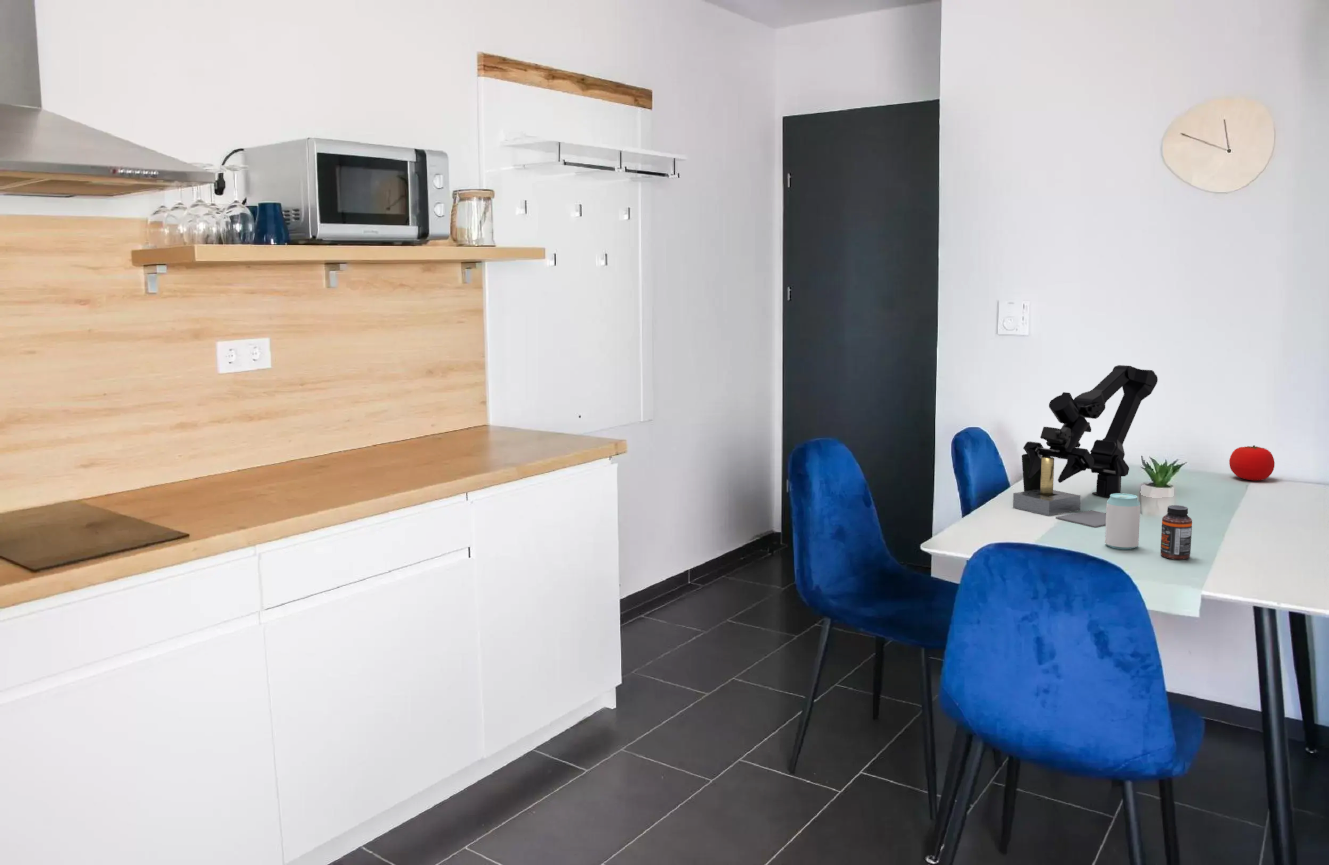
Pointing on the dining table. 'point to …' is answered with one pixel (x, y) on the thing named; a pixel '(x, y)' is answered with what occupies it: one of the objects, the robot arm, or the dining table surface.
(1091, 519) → the mat
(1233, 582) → the dining table surface
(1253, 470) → the tomato
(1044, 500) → the grey square hole block
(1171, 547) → the supplement bottle
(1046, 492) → the pin
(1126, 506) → the can
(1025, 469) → the cup
